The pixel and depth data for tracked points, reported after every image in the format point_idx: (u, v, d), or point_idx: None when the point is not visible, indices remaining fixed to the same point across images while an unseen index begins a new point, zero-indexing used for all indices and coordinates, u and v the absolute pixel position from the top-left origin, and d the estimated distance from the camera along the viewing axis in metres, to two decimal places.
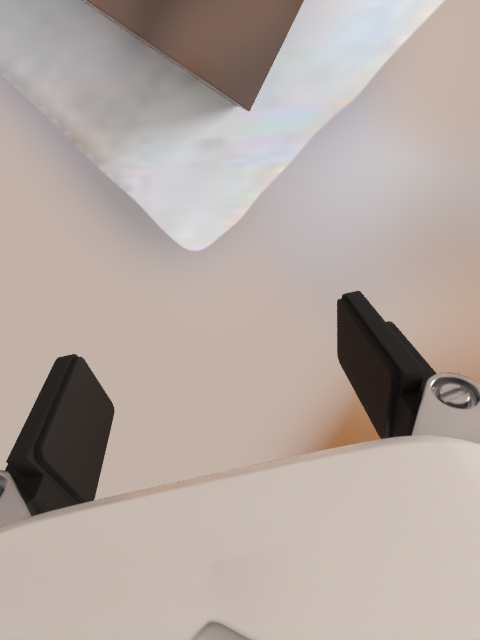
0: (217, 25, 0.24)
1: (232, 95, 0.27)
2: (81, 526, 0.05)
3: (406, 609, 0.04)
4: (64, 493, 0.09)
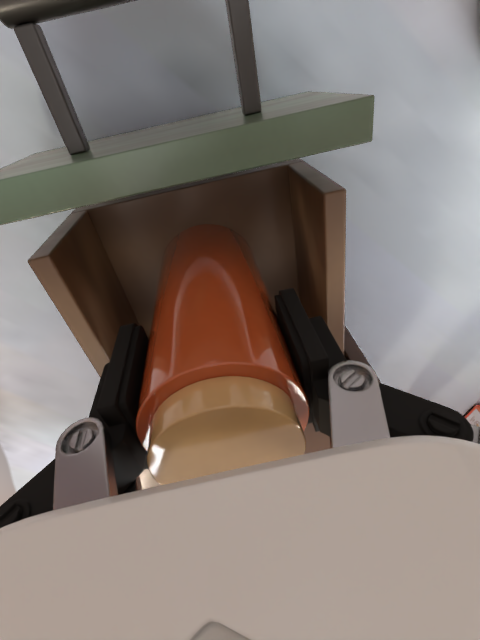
0: None
1: None
2: (81, 526, 0.05)
3: (406, 609, 0.04)
4: (139, 443, 0.10)
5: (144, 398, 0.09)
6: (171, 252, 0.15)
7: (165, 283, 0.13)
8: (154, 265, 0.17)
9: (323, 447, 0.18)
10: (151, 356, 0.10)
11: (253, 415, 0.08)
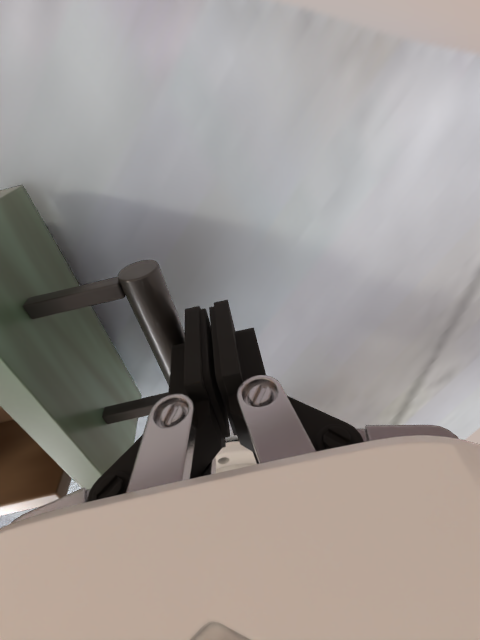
0: None
1: None
2: (81, 526, 0.05)
3: (406, 609, 0.04)
4: (216, 422, 0.10)
5: None
6: None
7: None
8: None
9: None
10: None
11: None
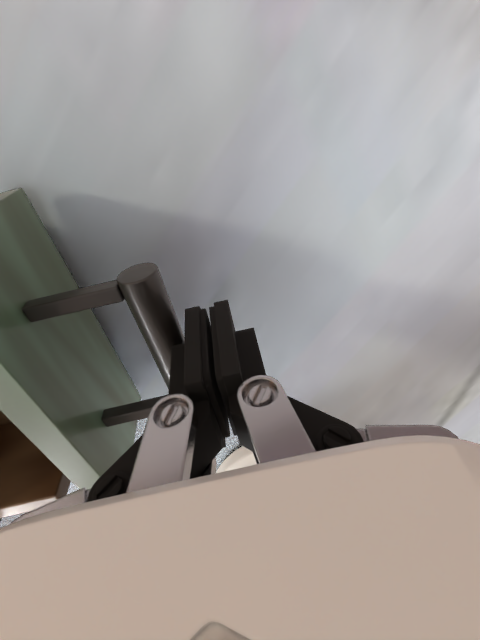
0: None
1: None
2: (81, 526, 0.05)
3: (406, 609, 0.04)
4: (216, 422, 0.10)
5: None
6: None
7: None
8: None
9: None
10: None
11: None
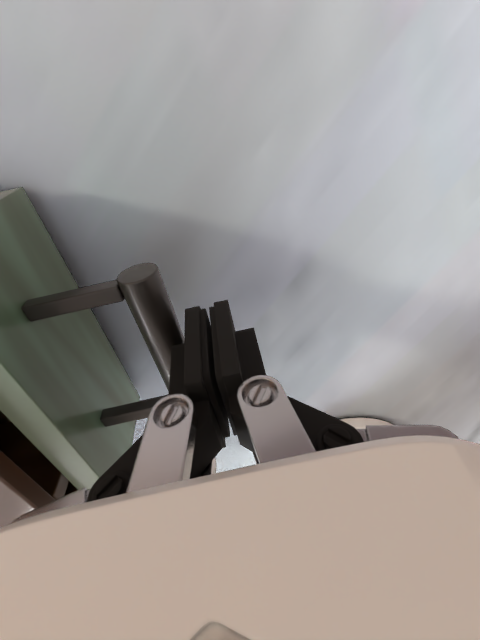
0: None
1: None
2: (81, 526, 0.05)
3: (406, 609, 0.04)
4: (216, 422, 0.10)
5: None
6: None
7: None
8: None
9: None
10: None
11: None
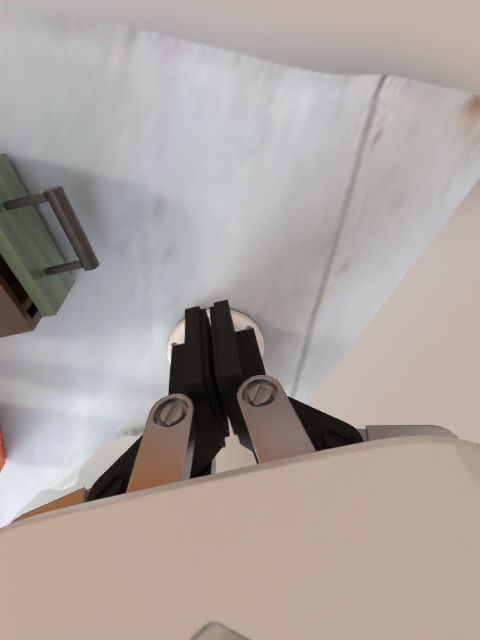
0: None
1: None
2: (81, 526, 0.05)
3: (406, 609, 0.04)
4: (216, 422, 0.10)
5: None
6: None
7: None
8: None
9: None
10: None
11: None
